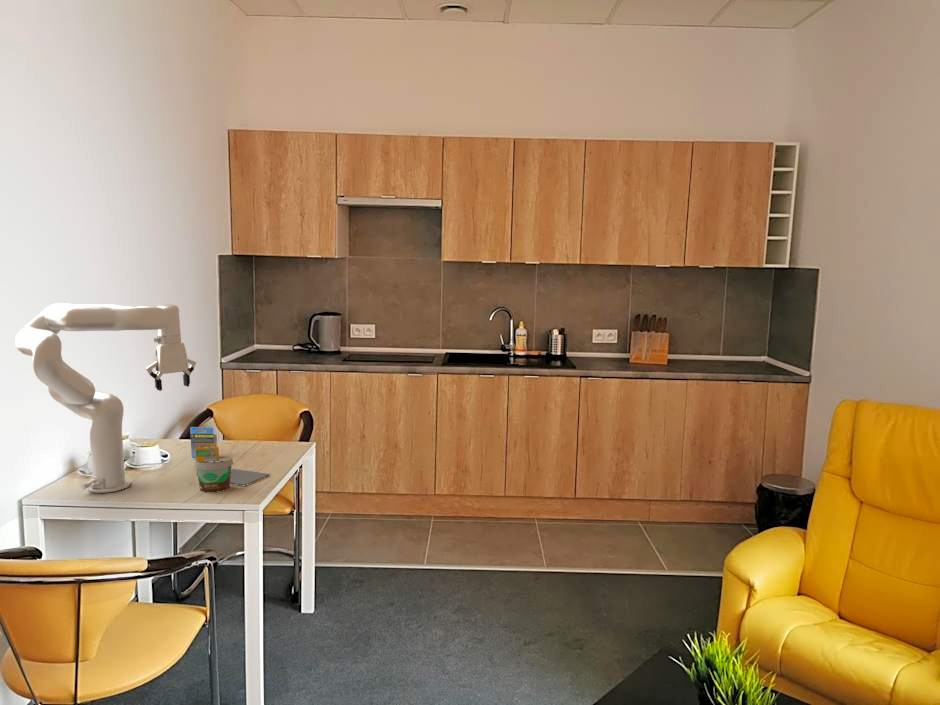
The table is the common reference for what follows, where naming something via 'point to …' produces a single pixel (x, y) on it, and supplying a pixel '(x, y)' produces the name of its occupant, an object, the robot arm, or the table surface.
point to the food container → (214, 475)
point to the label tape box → (201, 438)
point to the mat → (245, 476)
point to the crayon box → (206, 453)
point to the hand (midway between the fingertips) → (173, 388)
